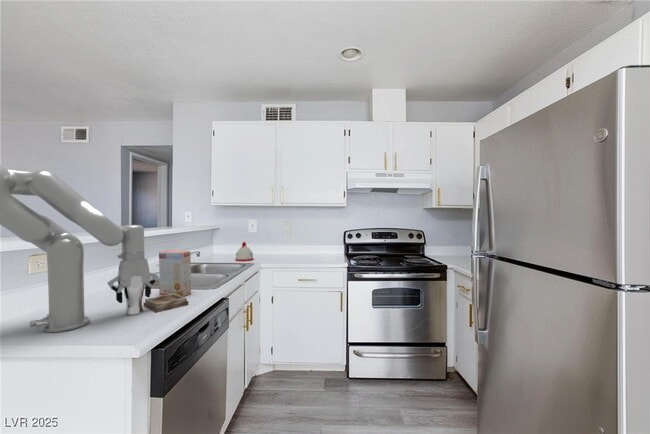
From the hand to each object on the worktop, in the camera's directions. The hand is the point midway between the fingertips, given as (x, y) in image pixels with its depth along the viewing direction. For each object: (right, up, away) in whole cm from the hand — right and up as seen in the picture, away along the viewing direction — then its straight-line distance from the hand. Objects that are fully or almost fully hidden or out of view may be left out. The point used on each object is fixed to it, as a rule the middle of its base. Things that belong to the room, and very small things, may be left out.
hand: (134, 299), depth 120 cm
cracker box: (+3, -5, +26) cm, 27 cm away
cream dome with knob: (+9, -3, +129) cm, 129 cm away
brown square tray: (+8, -5, +9) cm, 13 cm away
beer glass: (0, -5, 0) cm, 5 cm away
